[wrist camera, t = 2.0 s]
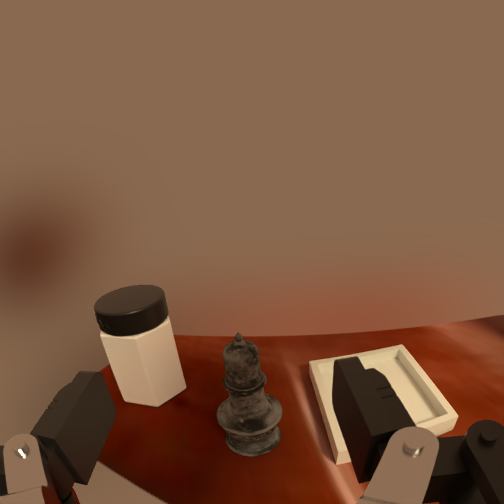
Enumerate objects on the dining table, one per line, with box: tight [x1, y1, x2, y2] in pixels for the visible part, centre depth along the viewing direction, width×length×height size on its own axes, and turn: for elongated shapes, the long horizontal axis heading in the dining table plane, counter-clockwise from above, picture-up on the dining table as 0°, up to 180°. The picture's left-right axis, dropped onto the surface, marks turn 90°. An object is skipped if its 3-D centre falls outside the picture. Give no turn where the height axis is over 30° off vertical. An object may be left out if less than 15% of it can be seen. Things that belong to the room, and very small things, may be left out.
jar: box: [94, 285, 186, 407], centre depth 34 cm, size 9×8×12 cm
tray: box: [309, 344, 458, 465], centre depth 28 cm, size 12×14×2 cm
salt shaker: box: [217, 333, 282, 456], centre depth 25 cm, size 6×6×12 cm
